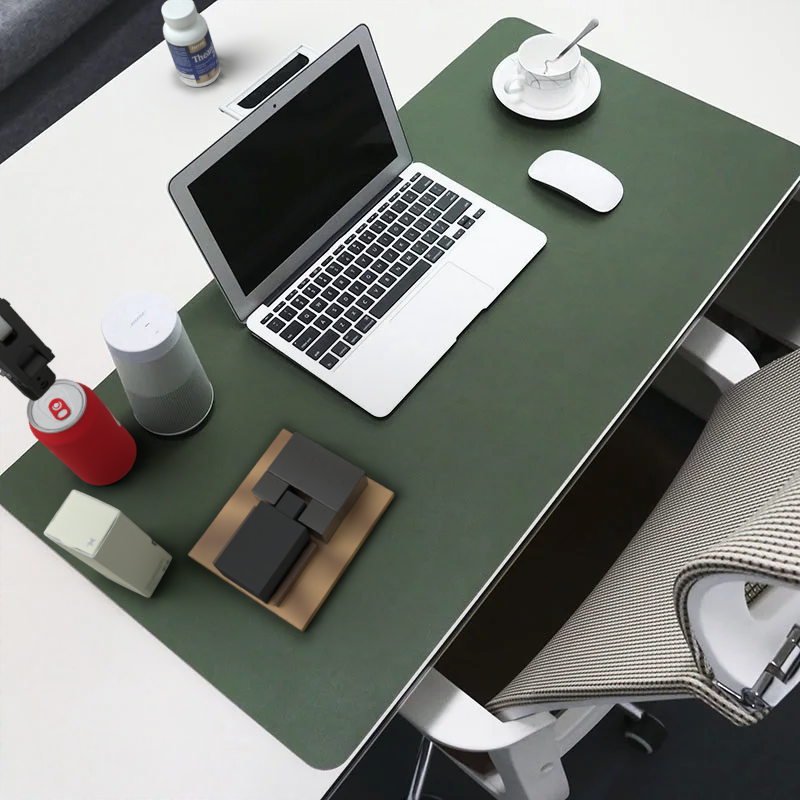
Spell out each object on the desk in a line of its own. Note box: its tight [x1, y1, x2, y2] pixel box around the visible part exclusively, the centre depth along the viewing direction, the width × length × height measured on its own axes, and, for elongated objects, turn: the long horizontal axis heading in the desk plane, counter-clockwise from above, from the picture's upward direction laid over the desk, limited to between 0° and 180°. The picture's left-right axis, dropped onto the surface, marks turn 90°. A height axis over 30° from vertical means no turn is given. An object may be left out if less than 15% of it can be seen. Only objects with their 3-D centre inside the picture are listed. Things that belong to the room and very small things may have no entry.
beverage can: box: [26, 378, 137, 486], centre depth 77 cm, size 6×6×12 cm
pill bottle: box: [161, 0, 221, 88], centre depth 103 cm, size 5×5×10 cm
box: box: [43, 489, 173, 599], centre depth 72 cm, size 5×4×13 cm
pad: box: [214, 491, 312, 604], centre depth 75 cm, size 9×5×4 cm, turn 147°
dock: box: [187, 428, 395, 633], centre depth 77 cm, size 15×13×4 cm
